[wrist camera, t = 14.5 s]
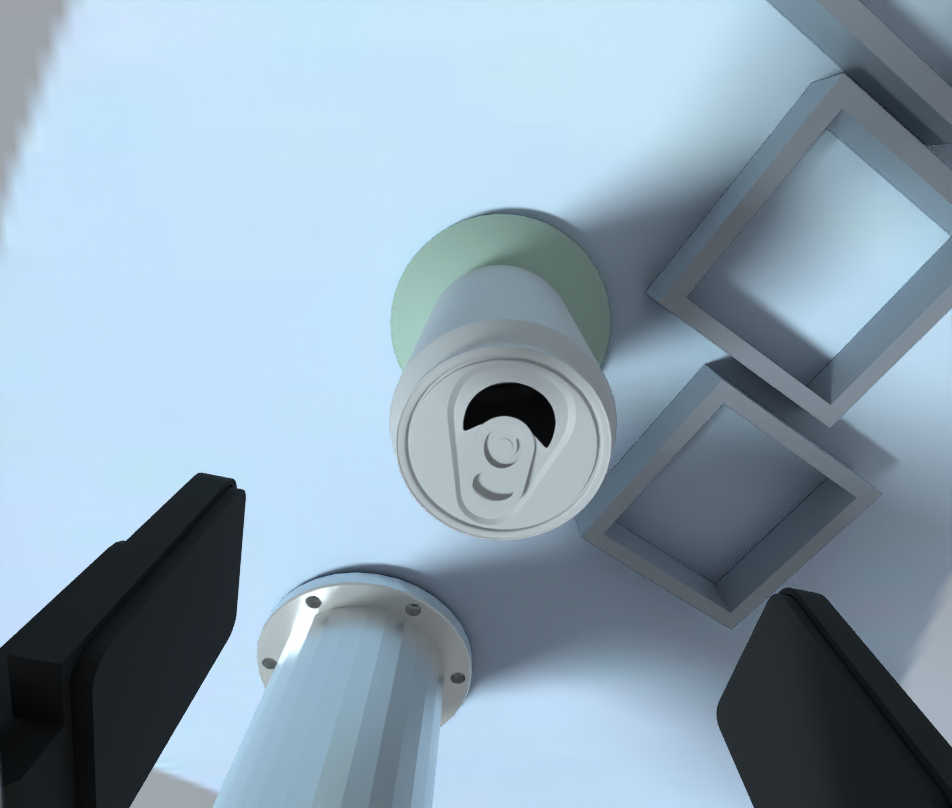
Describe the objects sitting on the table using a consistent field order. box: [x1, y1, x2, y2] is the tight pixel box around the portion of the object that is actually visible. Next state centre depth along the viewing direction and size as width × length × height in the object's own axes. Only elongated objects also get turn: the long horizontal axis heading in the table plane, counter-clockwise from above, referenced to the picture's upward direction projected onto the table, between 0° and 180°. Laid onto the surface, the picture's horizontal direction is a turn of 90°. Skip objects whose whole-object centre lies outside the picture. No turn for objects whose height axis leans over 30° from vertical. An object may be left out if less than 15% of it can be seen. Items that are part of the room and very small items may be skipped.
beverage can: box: [389, 265, 617, 540], centre depth 20 cm, size 6×6×12 cm
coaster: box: [390, 214, 611, 372], centre depth 26 cm, size 10×10×1 cm
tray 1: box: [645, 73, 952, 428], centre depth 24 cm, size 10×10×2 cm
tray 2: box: [575, 365, 882, 630], centre depth 28 cm, size 10×10×2 cm
